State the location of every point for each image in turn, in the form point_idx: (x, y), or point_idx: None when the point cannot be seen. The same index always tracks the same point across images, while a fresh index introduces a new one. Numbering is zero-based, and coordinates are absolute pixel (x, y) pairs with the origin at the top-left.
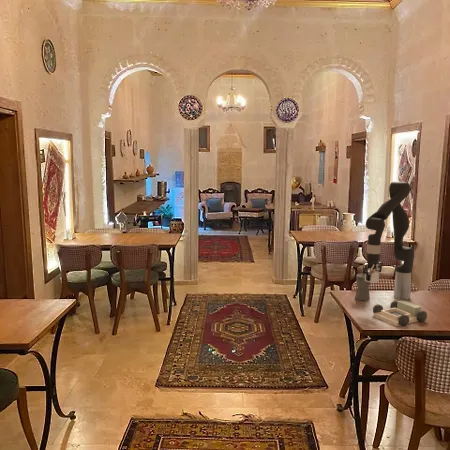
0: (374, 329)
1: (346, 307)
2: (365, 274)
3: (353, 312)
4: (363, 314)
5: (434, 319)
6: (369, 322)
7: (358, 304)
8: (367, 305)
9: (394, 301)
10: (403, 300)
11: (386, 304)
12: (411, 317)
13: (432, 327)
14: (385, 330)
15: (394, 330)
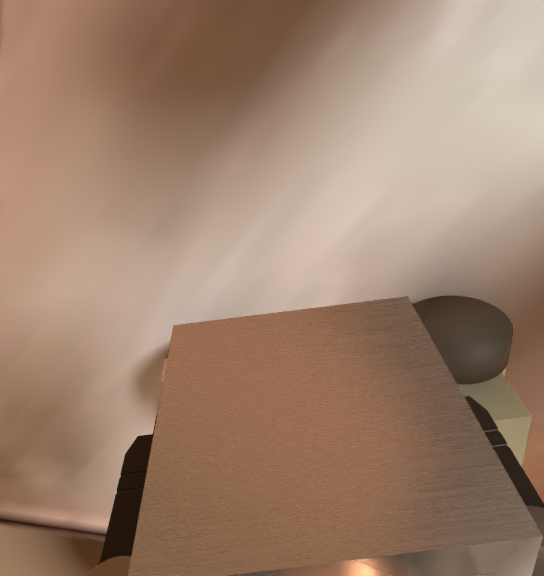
0: (30, 516)
1: (10, 59)
2: (151, 472)
3: (24, 227)
4: (101, 296)
5: (535, 483)
6: (58, 433)
7: (229, 7)
8: (313, 84)
9: (462, 366)
10: (529, 416)
11: (539, 128)
12: None
13: None
14: (94, 535)
15: None
